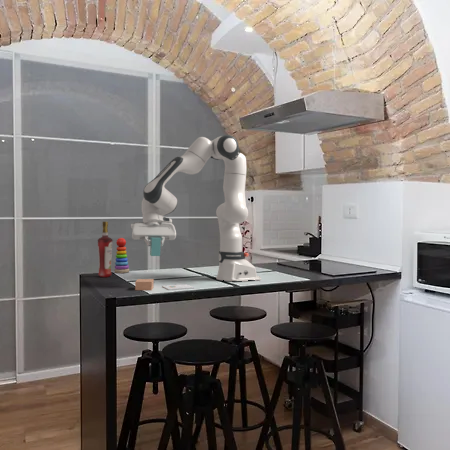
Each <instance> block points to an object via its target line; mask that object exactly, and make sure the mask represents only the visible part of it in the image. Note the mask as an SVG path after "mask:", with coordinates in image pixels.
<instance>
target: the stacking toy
mask: <svg viewBox="0 0 450 450" xmlns="http://www.w3.org/2000/svg"><path fill="white" fill-rule="evenodd" d="M126 243H127V241H126V239H125V238H124V237H119V238H117V240H116V246H117V247H116V250H117V251H116V255H115V262H114V264H115V266H114V273H116V274H126V273H129V272H130V265H129V259H128V255H127V247H126Z"/></svg>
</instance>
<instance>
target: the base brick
mask: <svg viewBox="0 0 450 450" xmlns="http://www.w3.org/2000/svg"><path fill="white" fill-rule="evenodd" d="M154 280H155V279H154V278H137V279H136V281H135V280H134V281H135V283H134V284H135V285H134V286H135V287H134V291H153V289H154V283H155V282H154Z"/></svg>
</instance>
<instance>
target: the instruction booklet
mask: <svg viewBox="0 0 450 450" xmlns="http://www.w3.org/2000/svg"><path fill="white" fill-rule="evenodd" d="M161 287H162V288H164V289H166V290H168V291H171V290H172V291H173V290H186V289H187V290H189V289H195V287H194V286H192V285H189V284H187V283H185V284H169V285H168V284H166V285H161Z"/></svg>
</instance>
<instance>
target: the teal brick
mask: <svg viewBox="0 0 450 450" xmlns="http://www.w3.org/2000/svg"><path fill="white" fill-rule="evenodd" d="M149 241H151V246H149V255H150V256H151V257H161V248H162V246H161V238H150V240H149Z"/></svg>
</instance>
